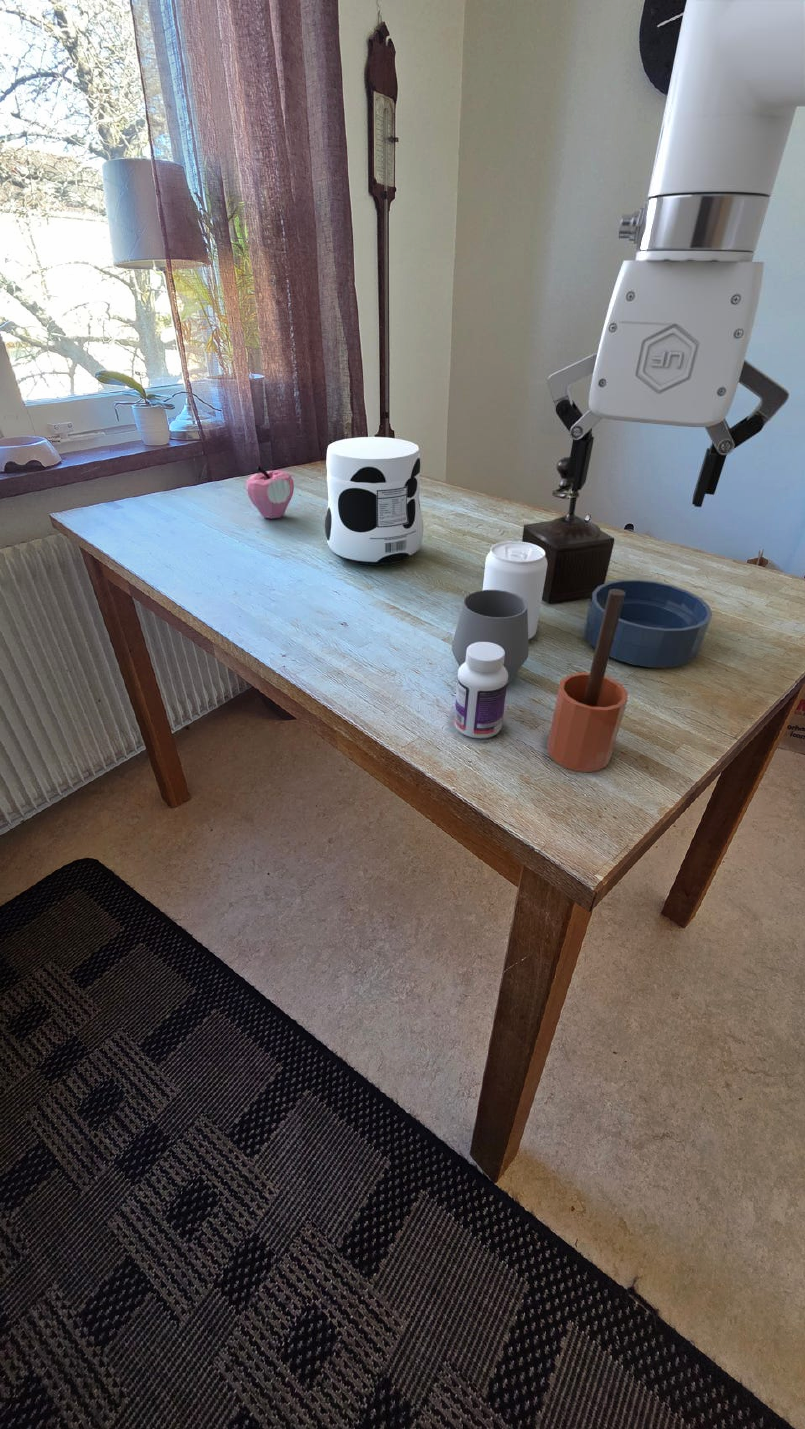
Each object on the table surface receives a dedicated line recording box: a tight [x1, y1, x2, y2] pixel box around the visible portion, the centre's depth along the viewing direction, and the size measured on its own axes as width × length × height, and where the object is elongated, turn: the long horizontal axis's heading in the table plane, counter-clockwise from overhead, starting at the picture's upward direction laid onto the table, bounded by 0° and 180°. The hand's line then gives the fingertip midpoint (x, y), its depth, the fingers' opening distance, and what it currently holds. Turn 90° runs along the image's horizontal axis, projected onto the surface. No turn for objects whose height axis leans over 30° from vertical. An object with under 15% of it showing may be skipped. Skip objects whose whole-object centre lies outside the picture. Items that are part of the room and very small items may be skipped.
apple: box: [245, 464, 295, 519], centre depth 121 cm, size 10×9×10 cm
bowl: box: [583, 579, 713, 669], centre depth 82 cm, size 15×15×6 cm
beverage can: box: [482, 540, 547, 640], centre depth 82 cm, size 8×8×12 cm
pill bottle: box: [454, 642, 509, 739], centre depth 65 cm, size 5×5×10 cm
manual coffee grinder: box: [521, 456, 615, 604], centre depth 95 cm, size 16×11×18 cm
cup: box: [451, 589, 530, 682], centre depth 74 cm, size 10×9×10 cm
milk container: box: [324, 436, 425, 566], centre depth 103 cm, size 17×17×18 cm
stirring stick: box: [583, 589, 625, 707], centre depth 59 cm, size 3×1×18 cm, turn 67°
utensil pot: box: [546, 671, 628, 773], centre depth 62 cm, size 7×7×8 cm
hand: (635, 494), depth 51 cm, fingers open, 9 cm apart
